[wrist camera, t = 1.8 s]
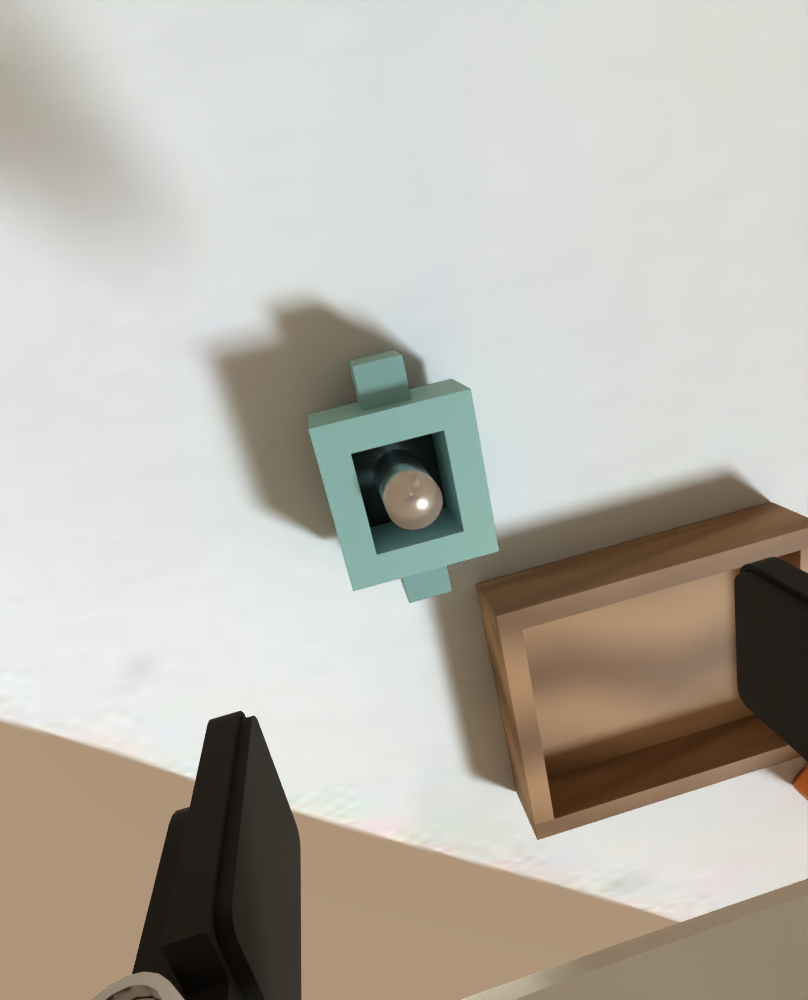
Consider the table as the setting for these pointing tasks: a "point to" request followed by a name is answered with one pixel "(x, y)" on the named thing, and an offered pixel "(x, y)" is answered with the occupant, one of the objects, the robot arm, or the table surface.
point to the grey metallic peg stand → (401, 483)
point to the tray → (632, 668)
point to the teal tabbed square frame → (452, 421)
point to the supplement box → (802, 783)
